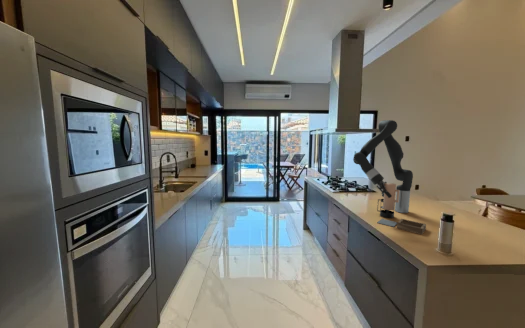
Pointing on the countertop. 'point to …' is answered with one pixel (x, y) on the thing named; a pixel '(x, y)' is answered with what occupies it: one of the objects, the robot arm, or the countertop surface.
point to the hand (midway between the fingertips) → (392, 196)
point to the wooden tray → (411, 226)
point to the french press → (385, 212)
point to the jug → (389, 202)
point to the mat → (387, 222)
